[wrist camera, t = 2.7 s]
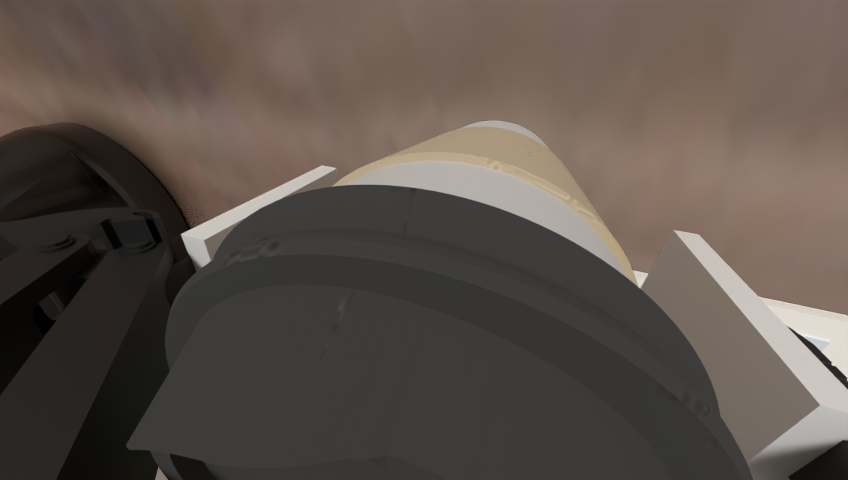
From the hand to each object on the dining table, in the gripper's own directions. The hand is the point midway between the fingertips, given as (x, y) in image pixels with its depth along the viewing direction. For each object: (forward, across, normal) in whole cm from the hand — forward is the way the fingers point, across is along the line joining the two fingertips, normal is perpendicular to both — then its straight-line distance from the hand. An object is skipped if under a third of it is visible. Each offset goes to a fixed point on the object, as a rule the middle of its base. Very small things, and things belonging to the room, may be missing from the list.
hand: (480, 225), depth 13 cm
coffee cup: (+4, 0, 0) cm, 4 cm away
